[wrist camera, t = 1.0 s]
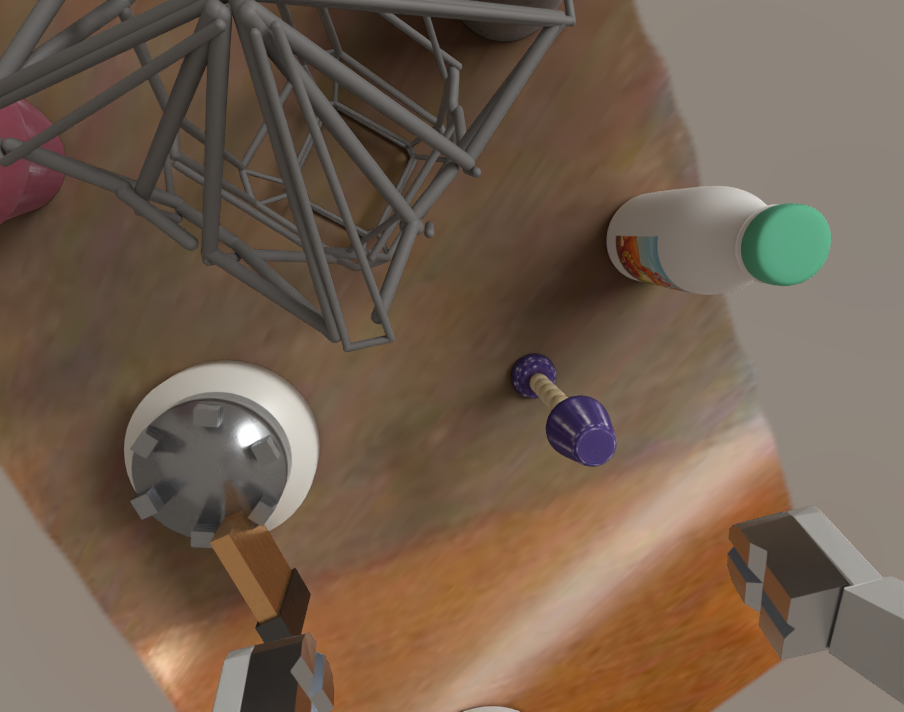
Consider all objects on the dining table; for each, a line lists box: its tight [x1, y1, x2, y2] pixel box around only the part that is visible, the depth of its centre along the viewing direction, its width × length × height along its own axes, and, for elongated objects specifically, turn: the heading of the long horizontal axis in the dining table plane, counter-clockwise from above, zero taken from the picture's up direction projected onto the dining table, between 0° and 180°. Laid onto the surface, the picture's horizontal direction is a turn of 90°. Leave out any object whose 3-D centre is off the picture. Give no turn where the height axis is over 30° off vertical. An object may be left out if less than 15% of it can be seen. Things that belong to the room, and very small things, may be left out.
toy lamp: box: [511, 354, 617, 467], centre depth 45 cm, size 5×5×17 cm
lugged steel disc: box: [130, 392, 311, 643], centre depth 47 cm, size 21×12×7 cm, turn 23°
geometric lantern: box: [0, 0, 576, 352], centre depth 31 cm, size 16×16×35 cm
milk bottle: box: [607, 186, 831, 295], centre depth 41 cm, size 8×8×20 cm
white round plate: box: [124, 360, 320, 531], centre depth 50 cm, size 16×16×3 cm
